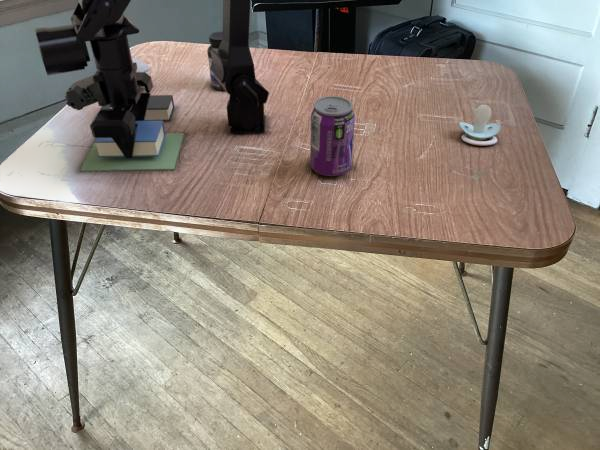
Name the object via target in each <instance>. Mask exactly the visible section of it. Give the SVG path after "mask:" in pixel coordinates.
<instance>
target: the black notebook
mask: <svg viewBox="0 0 600 450" xmlns="http://www.w3.org/2000/svg"><path fill="white" fill-rule="evenodd" d="M100 110H113V109H111V108H110V105H107V106H100V108H99V111H100ZM174 110H175V102H174V96H173V94H156V95H155V94H154V95H153V94H152V95H151V94H150V99H149V103H148V107H147V111H146V116H145V120H144V121H161V120H163V122H171V120H172V117H173V114H174Z"/></svg>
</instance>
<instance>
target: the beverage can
mask: <svg viewBox="0 0 600 450" xmlns="http://www.w3.org/2000/svg"><path fill="white" fill-rule="evenodd" d="M355 122H356V113H355V111H354V104H353V102H352V101H351V100H350V99H348V98H346V97H343V96H340V95H327V96H322V97H319V98H318V99H316V100H315V101H314V103H313V109H312V110H311V113H310V151H309V152H310V158H309V159H310V160H309V161H310V162H309V165H310V168H311V169H312V171H314V172H315V173H317V174H318V175H323V176H327V177H328V176H329V177H337V176H341V175H344V174H347V173H348V172H349V171H350V170H351V168H352V165H353V151H354V136H355V124H356V123H355Z"/></svg>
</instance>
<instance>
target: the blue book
mask: <svg viewBox="0 0 600 450" xmlns="http://www.w3.org/2000/svg"><path fill="white" fill-rule="evenodd" d="M135 124H138V128H137V133H136V139H135V145H134V151H133V156H132V157H155V156H159V155H160V152H161V149H162V146H163V143H164V140H165V137H166V134H165V133H166V128H165V124H164V121H163V120H161V121H135ZM94 143H96V146H97V149H98V153H99V155H98V157H125V156H124V155H123V153H122V152H121V150H120V149H119V147H118V146H117V144H116V143H115V142H114V140H113V139H112V138H94V142H93V144H94Z"/></svg>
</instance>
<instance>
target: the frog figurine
mask: <svg viewBox="0 0 600 450" xmlns="http://www.w3.org/2000/svg"><path fill="white" fill-rule="evenodd" d="M131 57H132V61H133V63H137V70H136V72H145V73H147V74H148V75H149V71H150V70H151V67H150V66H149V64H147V63H146V62H144V61H142V60H139V59H137V58H134V57H133V56H131ZM142 89H144V87H142Z"/></svg>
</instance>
